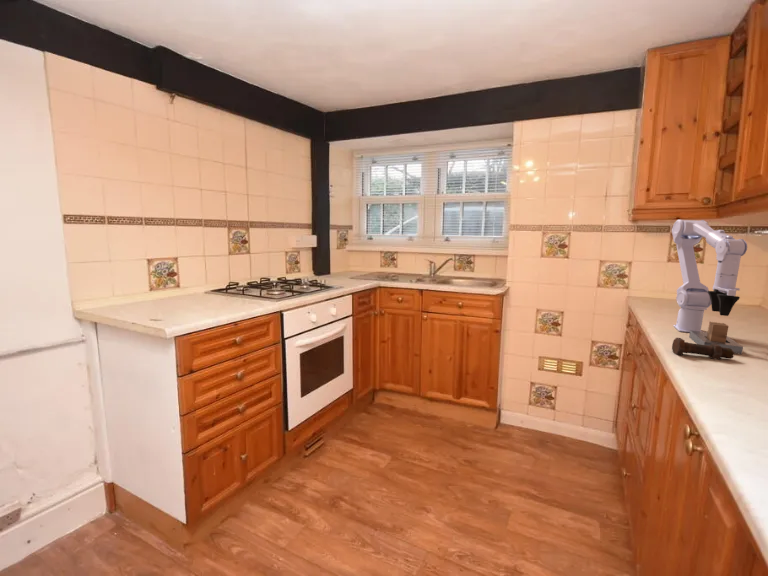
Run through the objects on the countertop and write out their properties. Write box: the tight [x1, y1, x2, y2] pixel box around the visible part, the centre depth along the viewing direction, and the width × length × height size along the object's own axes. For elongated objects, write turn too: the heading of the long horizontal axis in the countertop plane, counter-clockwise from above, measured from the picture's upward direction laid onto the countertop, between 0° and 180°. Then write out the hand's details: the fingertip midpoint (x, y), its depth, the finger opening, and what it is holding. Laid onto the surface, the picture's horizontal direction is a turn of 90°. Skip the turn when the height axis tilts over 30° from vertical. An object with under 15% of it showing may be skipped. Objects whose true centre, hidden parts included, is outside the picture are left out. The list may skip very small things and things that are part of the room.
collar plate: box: [688, 330, 744, 355], centre depth 136 cm, size 16×10×2 cm, turn 156°
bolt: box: [671, 337, 735, 360], centre depth 124 cm, size 6×5×15 cm
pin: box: [707, 321, 729, 342], centre depth 134 cm, size 4×4×8 cm
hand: (719, 313), depth 138 cm, fingers open, 7 cm apart
